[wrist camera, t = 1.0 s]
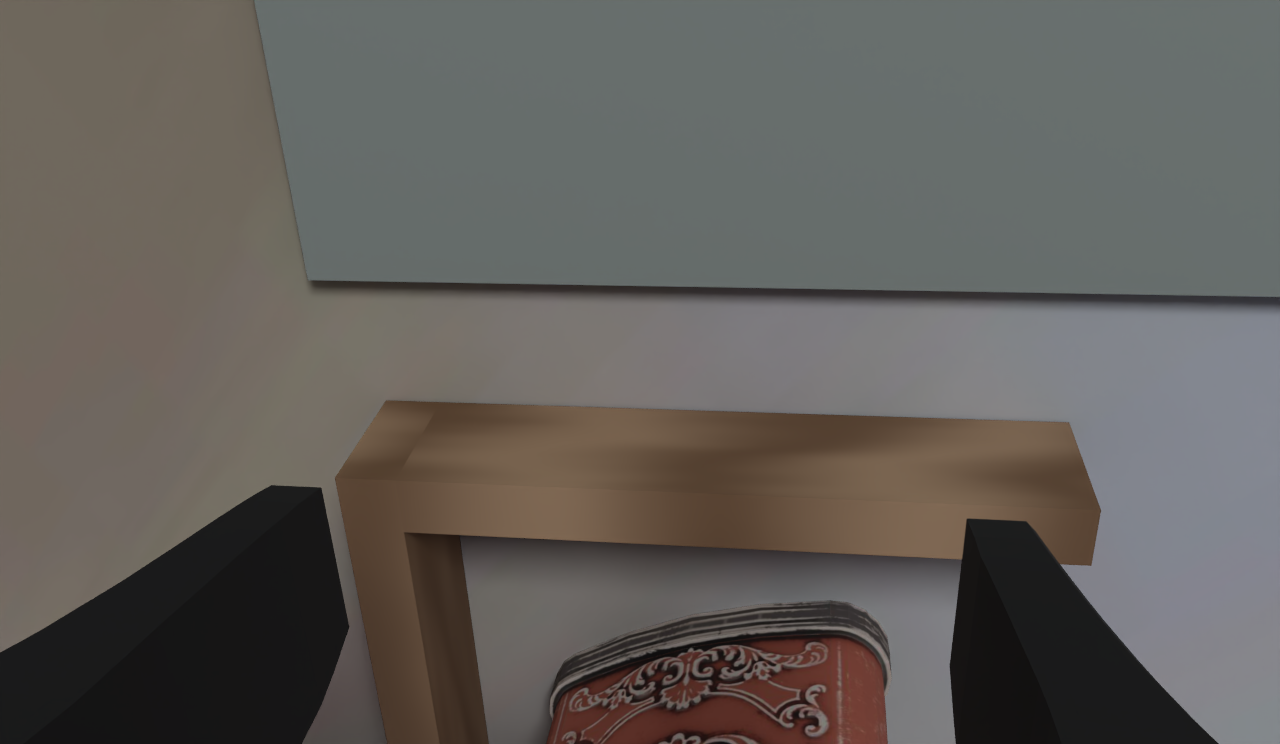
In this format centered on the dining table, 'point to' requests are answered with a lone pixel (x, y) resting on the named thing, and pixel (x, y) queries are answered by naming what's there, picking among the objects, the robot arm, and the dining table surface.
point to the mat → (785, 143)
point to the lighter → (731, 680)
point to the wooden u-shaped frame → (660, 508)
